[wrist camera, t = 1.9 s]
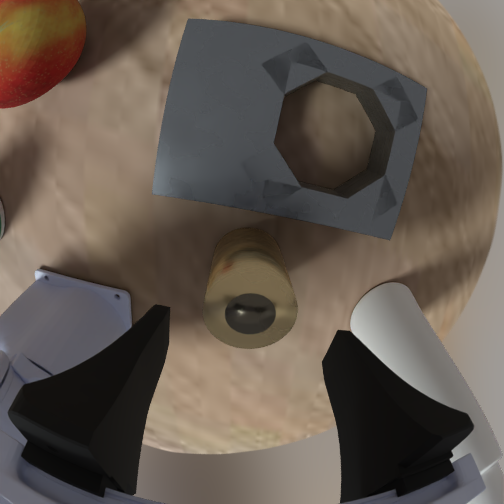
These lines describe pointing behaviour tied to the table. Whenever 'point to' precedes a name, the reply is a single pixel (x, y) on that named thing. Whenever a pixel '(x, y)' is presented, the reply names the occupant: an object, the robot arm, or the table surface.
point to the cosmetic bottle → (427, 372)
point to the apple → (37, 46)
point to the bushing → (249, 291)
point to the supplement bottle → (2, 220)
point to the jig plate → (266, 121)
